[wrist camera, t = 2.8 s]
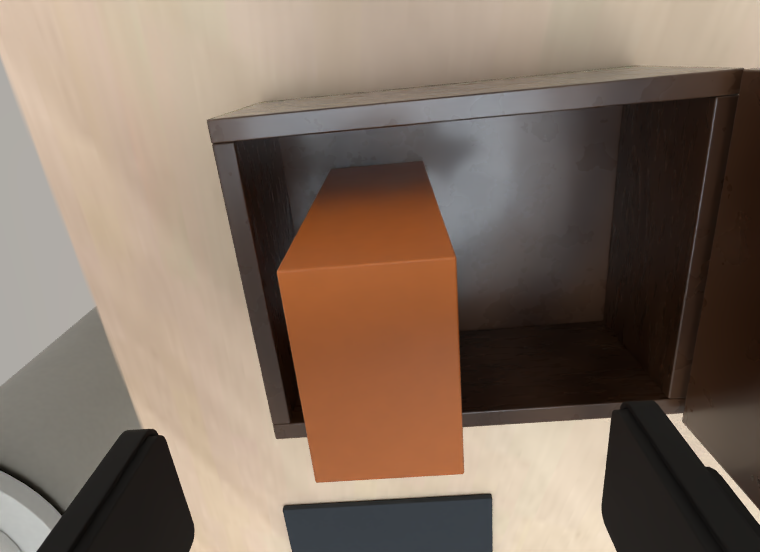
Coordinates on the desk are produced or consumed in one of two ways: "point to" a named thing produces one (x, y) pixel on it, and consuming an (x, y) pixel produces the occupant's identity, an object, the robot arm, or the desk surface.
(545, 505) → the desk surface
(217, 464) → the desk surface
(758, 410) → the lid
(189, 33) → the desk surface
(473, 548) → the mat
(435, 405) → the block
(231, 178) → the chest
